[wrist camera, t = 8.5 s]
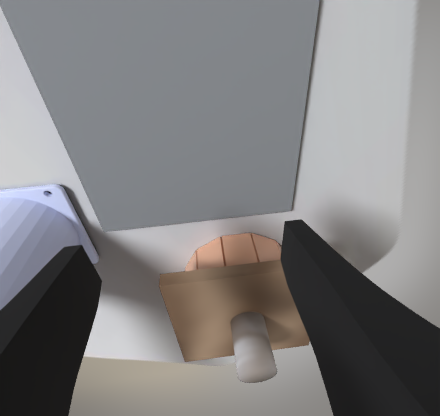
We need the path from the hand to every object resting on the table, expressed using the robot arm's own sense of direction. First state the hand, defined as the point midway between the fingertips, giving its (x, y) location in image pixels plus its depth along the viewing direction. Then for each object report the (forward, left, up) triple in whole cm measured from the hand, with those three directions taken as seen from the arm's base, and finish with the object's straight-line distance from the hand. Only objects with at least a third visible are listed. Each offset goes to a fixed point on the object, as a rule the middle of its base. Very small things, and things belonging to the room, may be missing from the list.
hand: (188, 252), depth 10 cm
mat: (0, +1, -10) cm, 10 cm away
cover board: (+3, -14, -5) cm, 15 cm away
